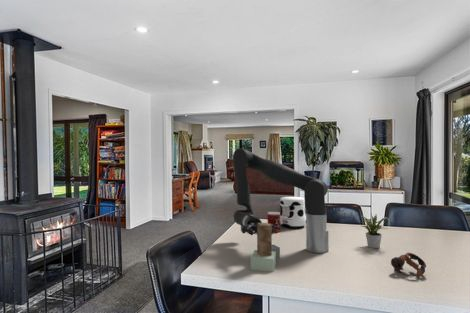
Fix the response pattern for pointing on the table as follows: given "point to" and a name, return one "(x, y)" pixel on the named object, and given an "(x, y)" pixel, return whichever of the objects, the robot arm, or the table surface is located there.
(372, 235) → the house plant
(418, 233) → the table surface
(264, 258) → the sage block
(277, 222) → the canned food
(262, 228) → the walnut post
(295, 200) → the milk container
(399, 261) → the brown arched piece
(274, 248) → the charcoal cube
